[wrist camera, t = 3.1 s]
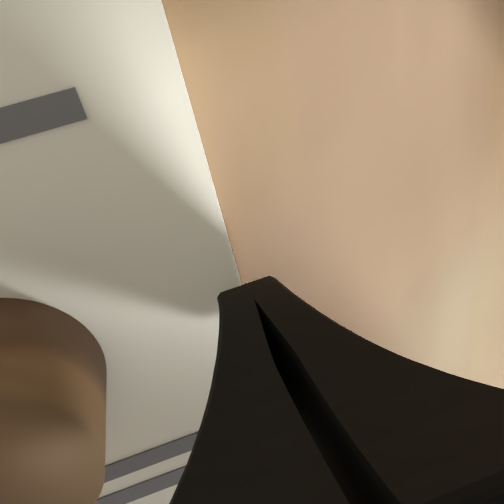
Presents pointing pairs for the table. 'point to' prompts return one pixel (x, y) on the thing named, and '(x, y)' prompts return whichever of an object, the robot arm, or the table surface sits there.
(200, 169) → the letter
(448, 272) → the table surface
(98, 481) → the wooden cylinder
